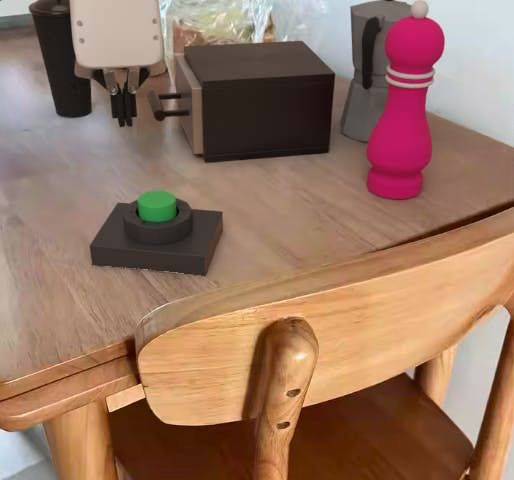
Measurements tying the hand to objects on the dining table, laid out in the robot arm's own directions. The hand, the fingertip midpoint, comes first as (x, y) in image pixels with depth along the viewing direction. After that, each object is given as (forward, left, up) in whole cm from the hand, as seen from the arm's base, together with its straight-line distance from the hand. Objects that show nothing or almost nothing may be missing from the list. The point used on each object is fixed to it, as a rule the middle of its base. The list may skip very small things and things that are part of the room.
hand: (125, 122), depth 90 cm
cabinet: (+15, +6, -3) cm, 17 cm away
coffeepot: (+30, +10, -3) cm, 32 cm away
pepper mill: (+33, -6, -3) cm, 34 cm away
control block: (+10, -24, -3) cm, 26 cm away
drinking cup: (-11, +10, -3) cm, 15 cm away
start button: (+10, -24, +1) cm, 26 cm away
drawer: (+12, +5, -2) cm, 13 cm away
